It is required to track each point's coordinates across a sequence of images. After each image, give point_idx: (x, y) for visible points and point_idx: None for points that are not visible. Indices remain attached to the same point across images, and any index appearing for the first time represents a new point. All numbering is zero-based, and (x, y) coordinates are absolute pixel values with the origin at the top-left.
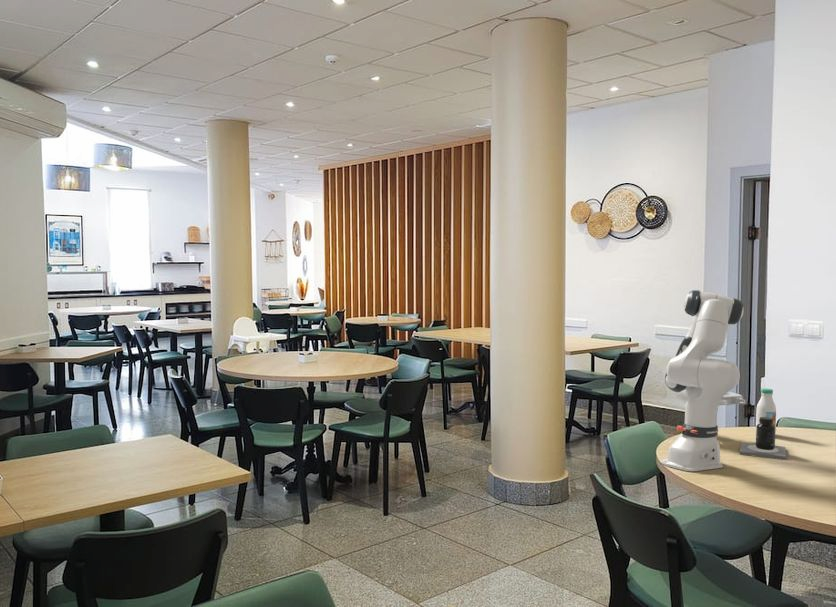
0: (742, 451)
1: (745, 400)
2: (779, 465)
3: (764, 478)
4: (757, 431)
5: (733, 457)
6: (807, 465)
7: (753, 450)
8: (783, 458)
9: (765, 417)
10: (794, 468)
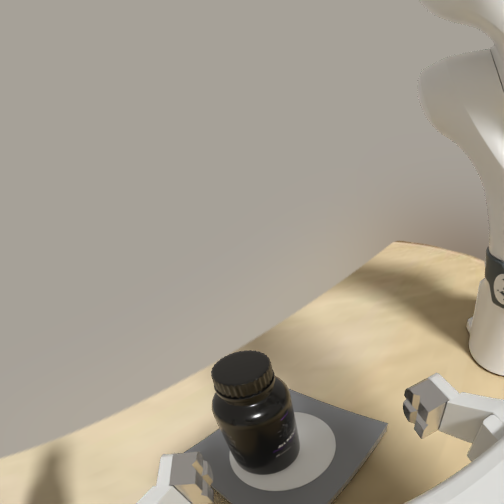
0: (380, 421)
1: (164, 455)
2: (333, 356)
3: (406, 300)
4: (291, 413)
5: None
6: None
7: (332, 433)
8: None
9: (232, 374)
10: (313, 343)
